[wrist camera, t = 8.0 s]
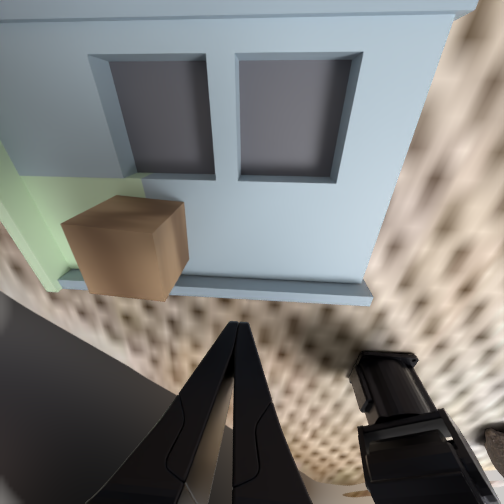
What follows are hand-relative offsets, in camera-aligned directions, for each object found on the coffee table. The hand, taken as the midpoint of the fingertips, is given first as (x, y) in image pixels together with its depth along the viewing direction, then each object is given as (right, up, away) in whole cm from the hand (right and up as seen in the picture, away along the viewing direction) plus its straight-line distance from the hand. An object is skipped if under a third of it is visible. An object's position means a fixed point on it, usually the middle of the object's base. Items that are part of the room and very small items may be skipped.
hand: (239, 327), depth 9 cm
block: (-7, +5, +8) cm, 12 cm away
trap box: (-3, +9, +7) cm, 12 cm away
